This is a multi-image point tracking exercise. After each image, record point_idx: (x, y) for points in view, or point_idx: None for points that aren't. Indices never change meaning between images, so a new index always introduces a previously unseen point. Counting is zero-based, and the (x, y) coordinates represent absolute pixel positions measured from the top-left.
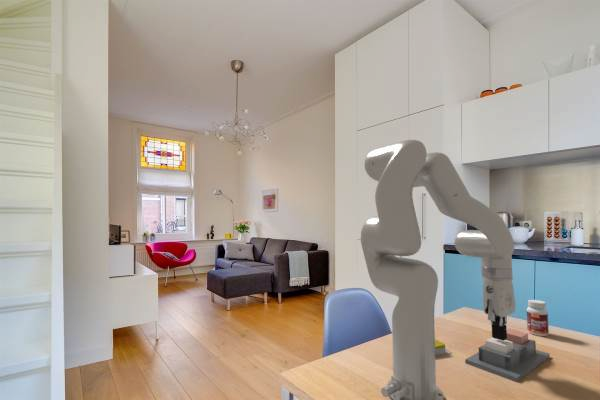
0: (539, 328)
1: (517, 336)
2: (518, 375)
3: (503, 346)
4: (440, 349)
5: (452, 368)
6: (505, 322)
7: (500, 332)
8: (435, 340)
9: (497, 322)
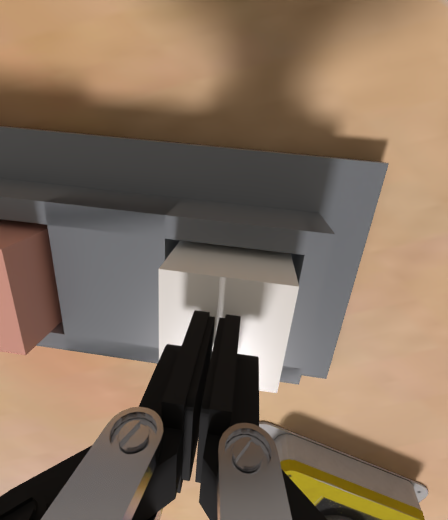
0: None
1: (8, 271)
2: (351, 165)
3: (295, 295)
4: (314, 462)
5: (416, 386)
6: (136, 434)
7: (248, 379)
8: None
9: (324, 517)
